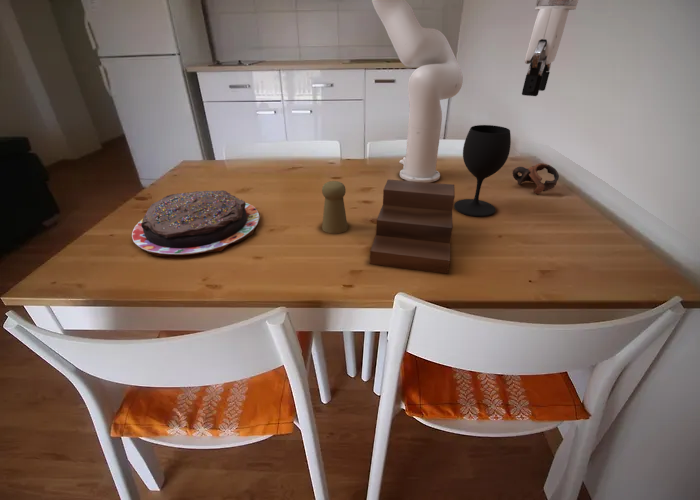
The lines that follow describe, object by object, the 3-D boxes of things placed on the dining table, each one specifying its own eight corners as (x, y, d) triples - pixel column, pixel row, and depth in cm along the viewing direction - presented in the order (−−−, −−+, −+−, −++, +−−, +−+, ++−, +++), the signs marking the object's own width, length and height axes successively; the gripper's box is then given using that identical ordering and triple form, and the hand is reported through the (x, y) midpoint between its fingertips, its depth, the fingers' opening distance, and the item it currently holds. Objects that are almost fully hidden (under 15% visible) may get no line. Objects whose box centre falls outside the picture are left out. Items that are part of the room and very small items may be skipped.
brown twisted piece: (544, 184, 108) (562, 165, 101) (543, 207, 103) (562, 189, 96) (506, 171, 108) (521, 152, 101) (504, 194, 104) (519, 176, 97)
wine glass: (502, 207, 92) (521, 128, 82) (484, 221, 86) (502, 137, 75) (465, 197, 98) (479, 122, 88) (446, 208, 92) (458, 129, 81)
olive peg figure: (348, 222, 86) (348, 178, 80) (346, 234, 80) (345, 188, 75) (324, 221, 86) (322, 177, 80) (320, 232, 81) (317, 187, 75)
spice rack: (447, 273, 67) (455, 226, 62) (369, 263, 70) (371, 218, 65) (448, 224, 85) (454, 184, 79) (385, 217, 88) (387, 179, 82)
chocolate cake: (256, 252, 74) (252, 224, 70) (112, 265, 70) (99, 236, 67) (262, 199, 97) (259, 176, 94) (154, 206, 94) (147, 183, 90)
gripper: (543, 4, 80) (523, 87, 89) (529, -1, 67) (507, 96, 76) (581, 3, 76) (556, 89, 85) (573, -3, 64) (545, 99, 73)
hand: (533, 92), depth 81 cm, fingers open, 9 cm apart
